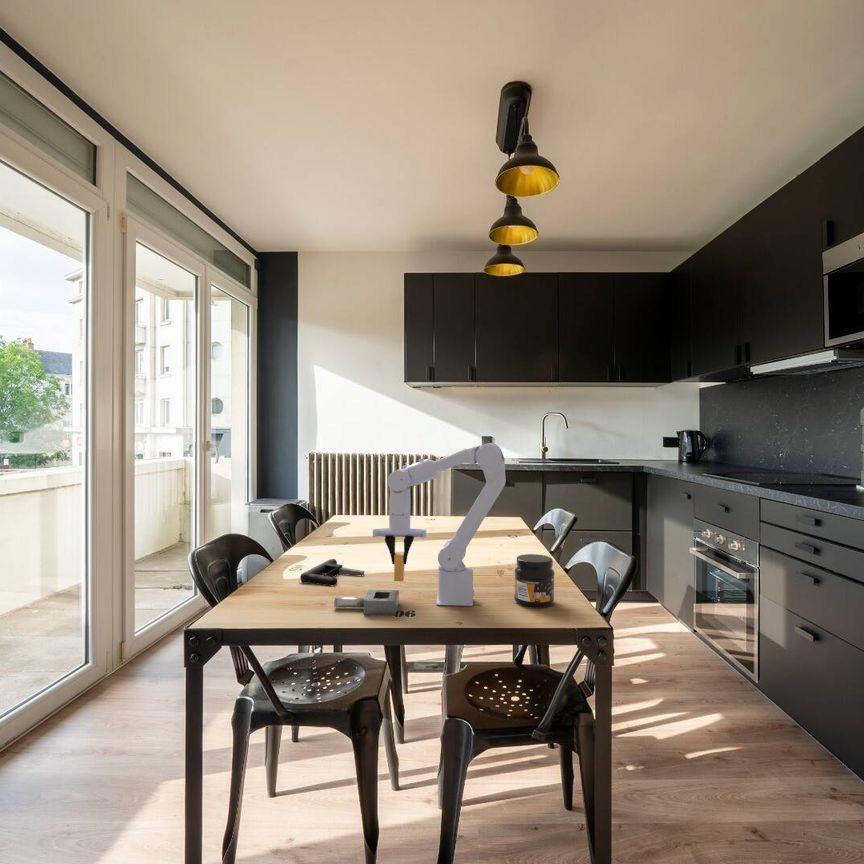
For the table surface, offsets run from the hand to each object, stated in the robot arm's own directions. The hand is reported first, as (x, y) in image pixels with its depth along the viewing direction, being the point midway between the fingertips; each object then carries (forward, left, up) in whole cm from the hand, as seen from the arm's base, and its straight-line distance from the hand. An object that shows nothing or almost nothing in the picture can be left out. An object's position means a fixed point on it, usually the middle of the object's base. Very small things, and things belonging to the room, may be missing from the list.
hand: (399, 563), depth 151 cm
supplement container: (-36, +2, -10) cm, 38 cm away
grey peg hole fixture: (+8, +9, -9) cm, 15 cm away
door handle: (+22, -20, -10) cm, 31 cm away
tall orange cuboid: (0, 0, -4) cm, 4 cm away
